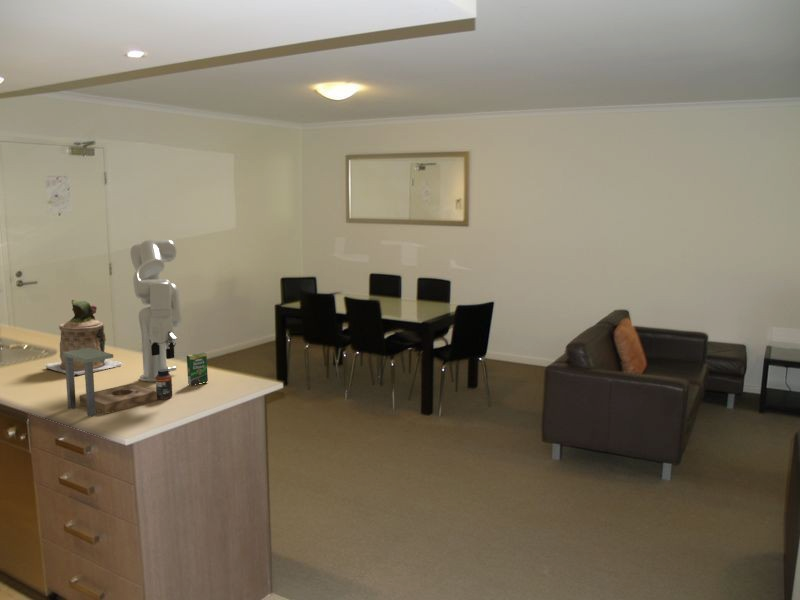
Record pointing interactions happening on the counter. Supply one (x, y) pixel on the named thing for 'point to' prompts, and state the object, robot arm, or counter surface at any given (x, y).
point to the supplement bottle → (163, 384)
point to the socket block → (120, 397)
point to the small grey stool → (87, 357)
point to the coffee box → (197, 368)
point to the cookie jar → (82, 338)
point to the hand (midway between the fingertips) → (163, 356)
